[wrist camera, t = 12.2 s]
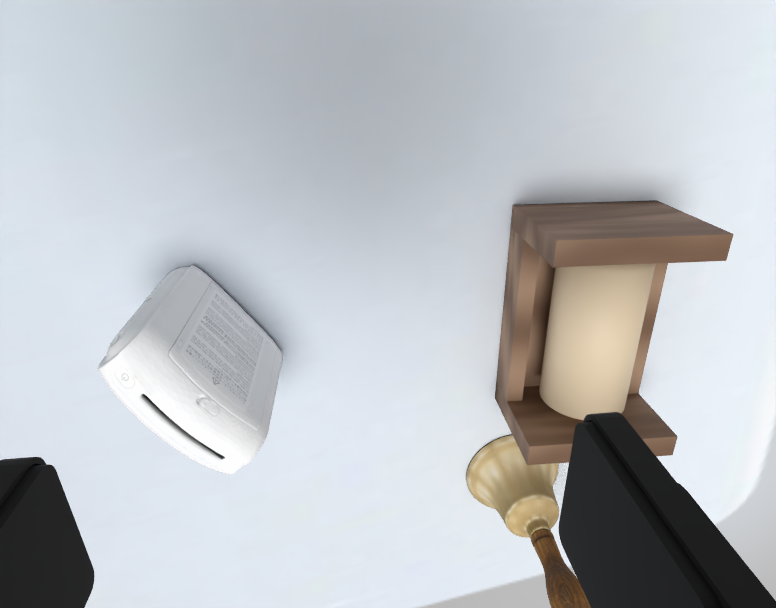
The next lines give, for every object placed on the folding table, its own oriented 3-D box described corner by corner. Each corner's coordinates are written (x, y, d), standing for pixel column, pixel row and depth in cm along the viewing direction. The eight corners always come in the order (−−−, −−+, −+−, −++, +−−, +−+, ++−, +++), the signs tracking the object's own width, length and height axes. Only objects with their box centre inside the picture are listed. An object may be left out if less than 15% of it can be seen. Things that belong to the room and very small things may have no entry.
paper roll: (543, 241, 37) (582, 272, 31) (625, 237, 38) (677, 267, 32) (527, 378, 42) (558, 425, 36) (600, 372, 42) (641, 418, 37)
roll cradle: (512, 204, 37) (556, 240, 29) (656, 200, 38) (733, 234, 30) (495, 397, 43) (527, 465, 36) (617, 390, 44) (672, 455, 37)
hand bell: (576, 452, 47) (684, 627, 32) (523, 516, 49) (601, 704, 35) (498, 420, 45) (577, 593, 30) (448, 489, 47) (498, 679, 33)
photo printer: (146, 289, 37) (64, 388, 26) (190, 252, 36) (126, 338, 25) (250, 384, 41) (217, 506, 30) (292, 352, 40) (275, 466, 29)
